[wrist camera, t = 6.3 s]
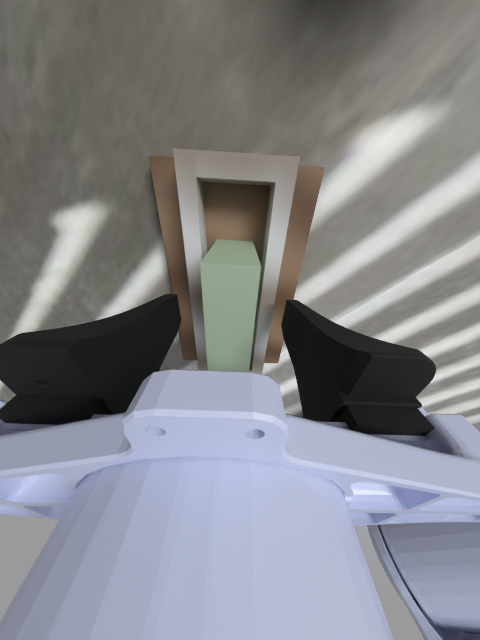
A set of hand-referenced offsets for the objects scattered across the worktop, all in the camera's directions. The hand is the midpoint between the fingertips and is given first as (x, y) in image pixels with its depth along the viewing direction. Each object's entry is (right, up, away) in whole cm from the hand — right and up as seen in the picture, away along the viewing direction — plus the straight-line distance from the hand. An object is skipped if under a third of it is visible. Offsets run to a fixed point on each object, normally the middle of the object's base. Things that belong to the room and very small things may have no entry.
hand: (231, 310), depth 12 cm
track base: (0, +2, +3) cm, 4 cm away
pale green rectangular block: (0, +2, +3) cm, 3 cm away
